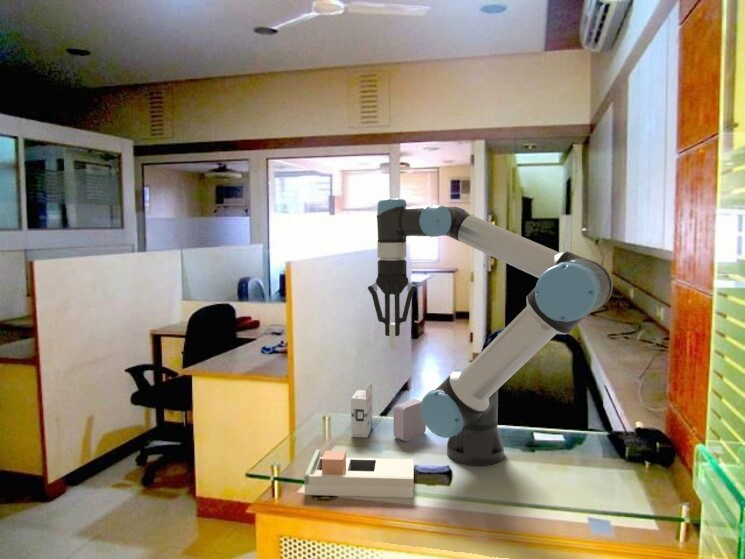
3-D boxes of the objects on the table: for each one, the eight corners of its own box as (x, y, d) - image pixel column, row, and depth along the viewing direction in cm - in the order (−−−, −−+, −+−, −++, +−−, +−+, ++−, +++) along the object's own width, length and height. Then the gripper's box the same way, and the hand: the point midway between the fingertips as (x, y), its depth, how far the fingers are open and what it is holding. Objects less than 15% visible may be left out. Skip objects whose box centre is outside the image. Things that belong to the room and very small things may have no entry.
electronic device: (413, 429, 165) (413, 397, 164) (425, 433, 162) (425, 400, 161) (391, 438, 158) (391, 405, 157) (403, 442, 155) (403, 408, 154)
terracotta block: (346, 470, 132) (345, 450, 131) (343, 480, 127) (343, 459, 126) (325, 470, 132) (325, 450, 132) (322, 479, 127) (321, 459, 127)
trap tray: (413, 468, 138) (413, 451, 138) (413, 497, 123) (413, 478, 123) (316, 466, 140) (316, 449, 140) (304, 494, 125) (304, 476, 125)
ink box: (357, 426, 168) (356, 379, 166) (373, 427, 167) (372, 380, 165) (350, 437, 159) (350, 388, 158) (367, 438, 158) (366, 388, 157)
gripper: (417, 258, 145) (417, 345, 147) (368, 258, 146) (369, 344, 148) (417, 259, 137) (417, 351, 139) (365, 260, 138) (366, 351, 140)
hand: (392, 347), depth 144 cm, fingers closed
